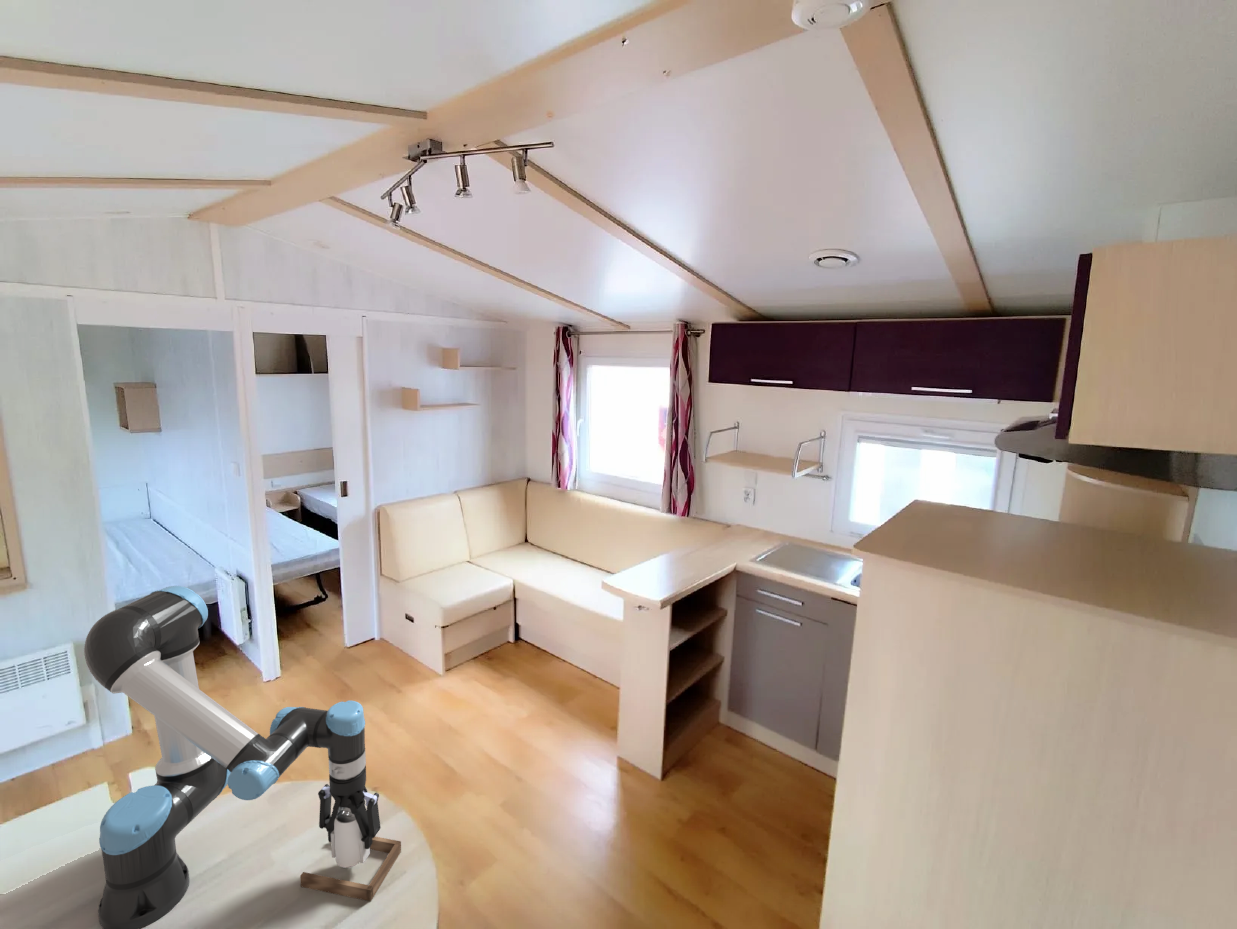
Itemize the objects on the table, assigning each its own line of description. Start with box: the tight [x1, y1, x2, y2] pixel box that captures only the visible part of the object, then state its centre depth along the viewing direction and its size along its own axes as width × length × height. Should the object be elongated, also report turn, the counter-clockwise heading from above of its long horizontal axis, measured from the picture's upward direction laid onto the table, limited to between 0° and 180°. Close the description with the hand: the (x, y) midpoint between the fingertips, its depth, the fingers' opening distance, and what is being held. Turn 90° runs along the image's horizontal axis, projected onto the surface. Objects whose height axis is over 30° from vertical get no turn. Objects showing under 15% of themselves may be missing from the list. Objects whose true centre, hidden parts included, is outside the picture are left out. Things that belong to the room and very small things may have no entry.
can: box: [334, 807, 362, 869], centre depth 132 cm, size 6×6×12 cm
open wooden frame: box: [299, 836, 402, 902], centre depth 134 cm, size 17×13×3 cm
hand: (350, 855), depth 133 cm, fingers closed on can, 6 cm apart
